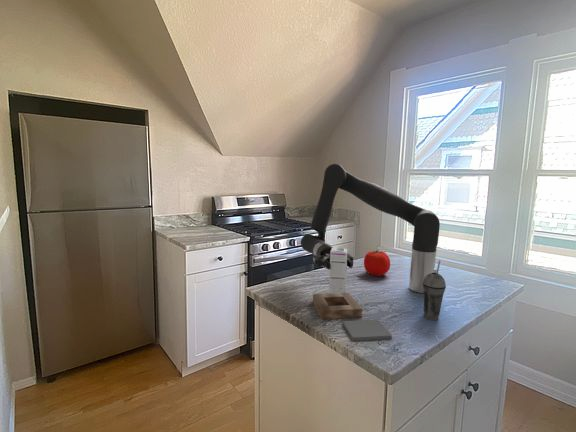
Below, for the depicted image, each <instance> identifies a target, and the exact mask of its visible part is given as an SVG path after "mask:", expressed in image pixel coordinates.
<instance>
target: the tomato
mask: <svg viewBox="0 0 576 432" xmlns="http://www.w3.org/2000/svg"><path fill="white" fill-rule="evenodd" d="M379 250H380V249H377V250H370V251H368V252H367V253H366V254H365V256H364V257H363V258H364V259H363V266H364V269H365V272H366V273H368V274H369V275H372V276H377V277H378V276H383V275H385V274H387V273H388V272H389V271H390V268H391V259H390V257H389V256H388V254H387V252H385V251H382V250H380V251H379Z"/></svg>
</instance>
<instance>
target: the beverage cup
mask: <svg viewBox="0 0 576 432" xmlns="http://www.w3.org/2000/svg"><path fill="white" fill-rule="evenodd" d="M440 266H441V260H438V263H437V266H436V267H437V268H436V270H437V272H436V273H429V274H428V275H426V276H425V278H424V280H423V290H424V293H423V317H424V318H425V319H427V320H431V321H438V320H439V316H440V313H441V309H442V303H443V299H444V293H445V292H446V288H447V285H446V280H445V278H444V277H443V275H441V274H440V273H439V270H440Z"/></svg>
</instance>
